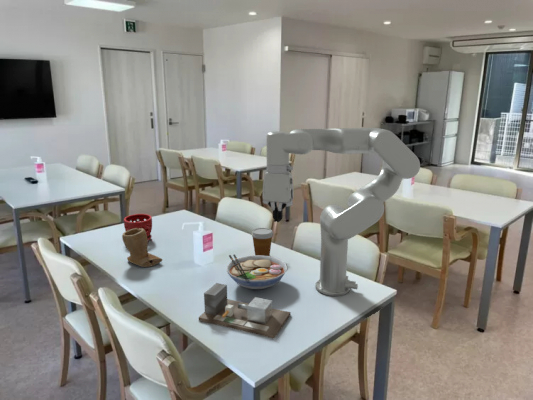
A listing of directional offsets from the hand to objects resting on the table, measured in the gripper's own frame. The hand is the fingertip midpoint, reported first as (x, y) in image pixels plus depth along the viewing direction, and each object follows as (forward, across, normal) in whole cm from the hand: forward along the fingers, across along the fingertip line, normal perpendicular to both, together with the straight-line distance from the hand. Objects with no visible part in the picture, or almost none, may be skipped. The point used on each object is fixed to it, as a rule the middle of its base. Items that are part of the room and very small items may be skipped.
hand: (277, 220), depth 143 cm
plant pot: (+27, +82, -25) cm, 90 cm away
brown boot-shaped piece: (+27, +63, -3) cm, 69 cm away
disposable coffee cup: (+27, +18, -28) cm, 43 cm away
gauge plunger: (+26, 0, +21) cm, 33 cm away
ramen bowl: (+27, +9, -2) cm, 29 cm away
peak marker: (+26, +8, +24) cm, 36 cm away
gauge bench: (+27, +3, +21) cm, 34 cm away
